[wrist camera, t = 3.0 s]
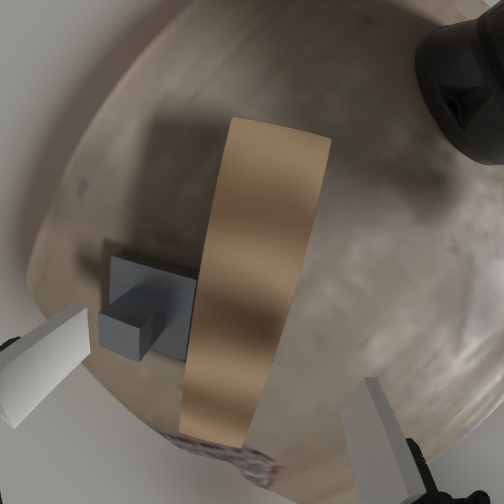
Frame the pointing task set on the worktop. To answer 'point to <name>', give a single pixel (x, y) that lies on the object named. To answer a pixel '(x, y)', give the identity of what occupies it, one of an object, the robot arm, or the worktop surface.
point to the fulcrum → (147, 307)
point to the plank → (248, 272)
